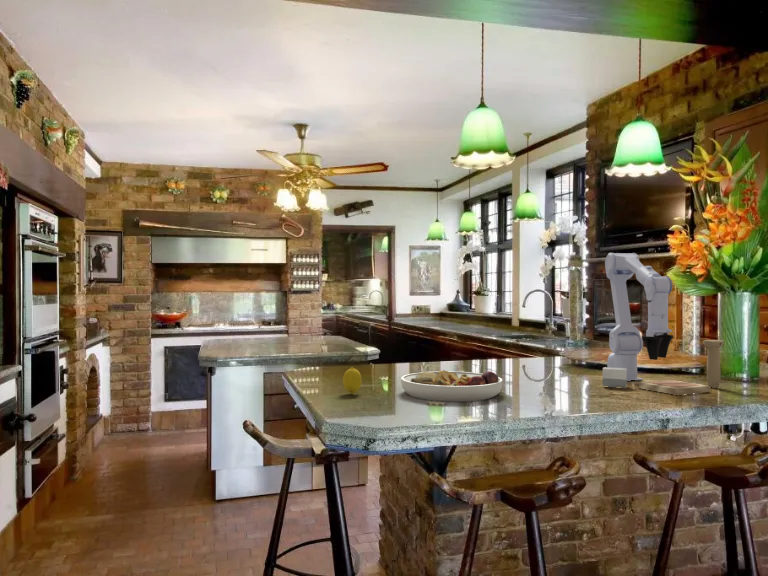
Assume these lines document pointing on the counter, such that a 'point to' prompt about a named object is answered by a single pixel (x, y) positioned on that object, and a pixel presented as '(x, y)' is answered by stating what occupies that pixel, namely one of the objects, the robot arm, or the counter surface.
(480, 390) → the bowl
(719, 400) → the counter surface
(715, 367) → the handle
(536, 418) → the counter surface
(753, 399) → the counter surface
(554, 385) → the counter surface
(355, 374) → the lemon
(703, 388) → the stand
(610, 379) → the block
